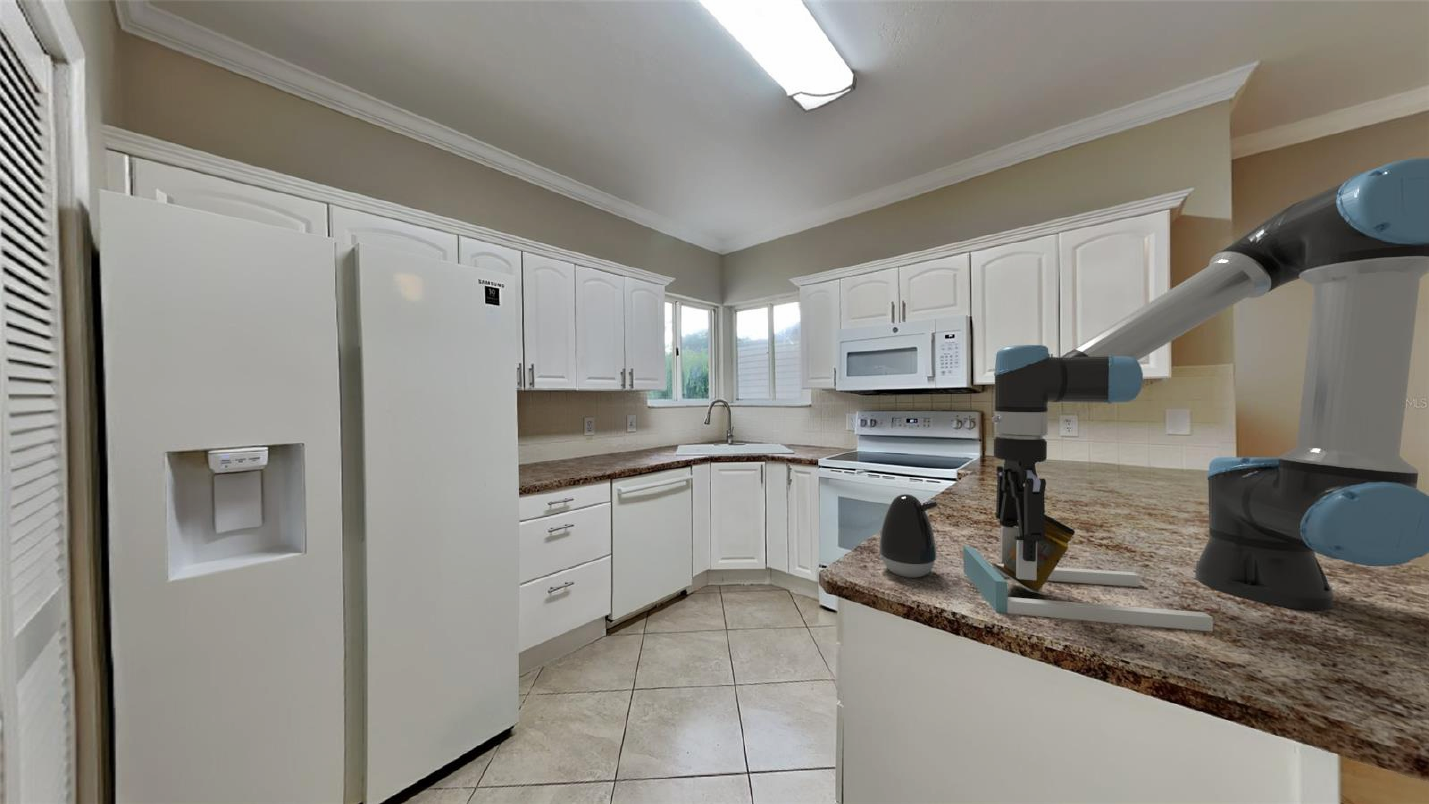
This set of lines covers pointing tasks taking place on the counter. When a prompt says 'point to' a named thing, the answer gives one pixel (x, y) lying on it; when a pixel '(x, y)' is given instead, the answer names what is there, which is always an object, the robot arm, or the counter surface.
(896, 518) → the pump dispenser
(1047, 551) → the condiment
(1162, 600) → the counter surface
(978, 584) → the guide
